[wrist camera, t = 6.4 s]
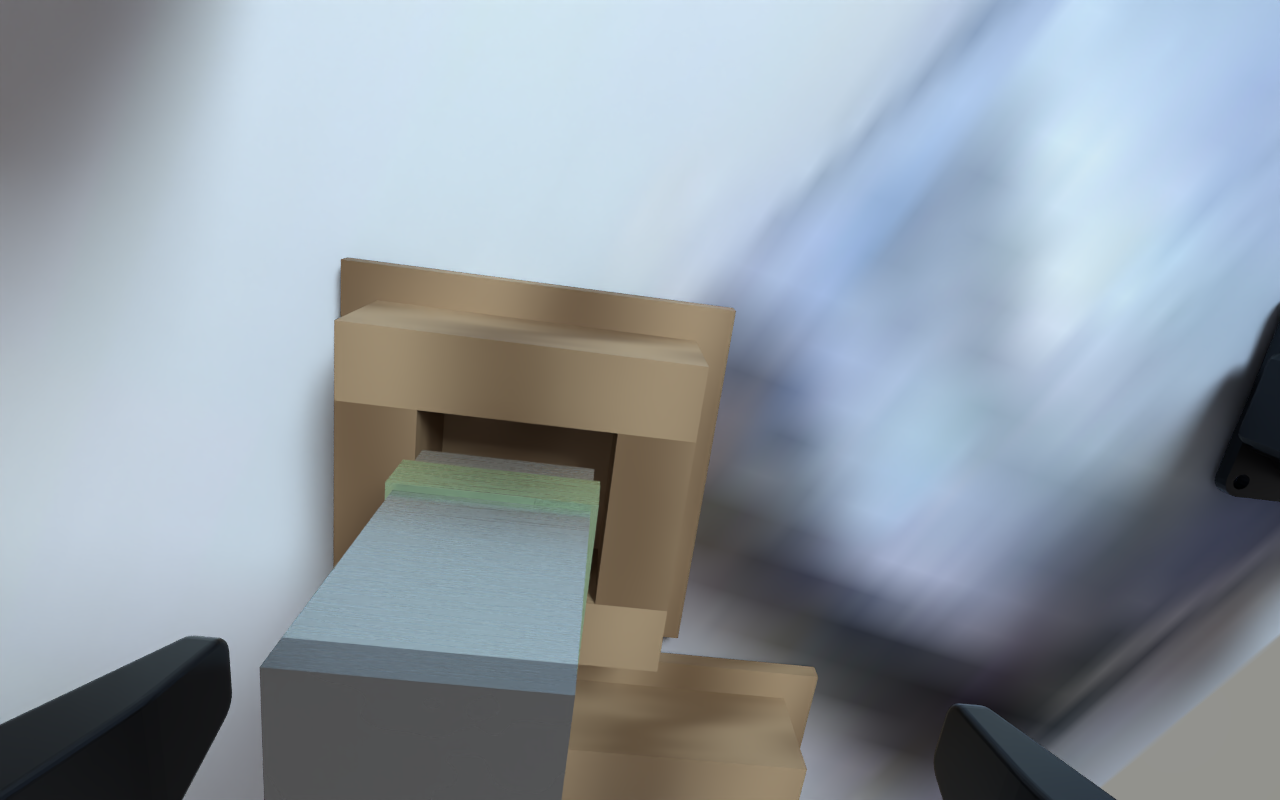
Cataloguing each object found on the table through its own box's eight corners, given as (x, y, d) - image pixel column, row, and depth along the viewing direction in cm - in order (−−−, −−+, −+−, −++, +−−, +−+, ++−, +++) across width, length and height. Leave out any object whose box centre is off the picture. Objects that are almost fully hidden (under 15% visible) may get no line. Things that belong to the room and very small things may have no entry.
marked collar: (732, 308, 20) (762, 339, 16) (676, 629, 23) (689, 724, 19) (347, 257, 19) (273, 276, 15) (344, 596, 22) (282, 688, 18)
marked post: (601, 464, 16) (587, 687, 9) (581, 619, 17) (555, 926, 10) (416, 443, 16) (247, 656, 9) (409, 603, 17) (257, 906, 10)
